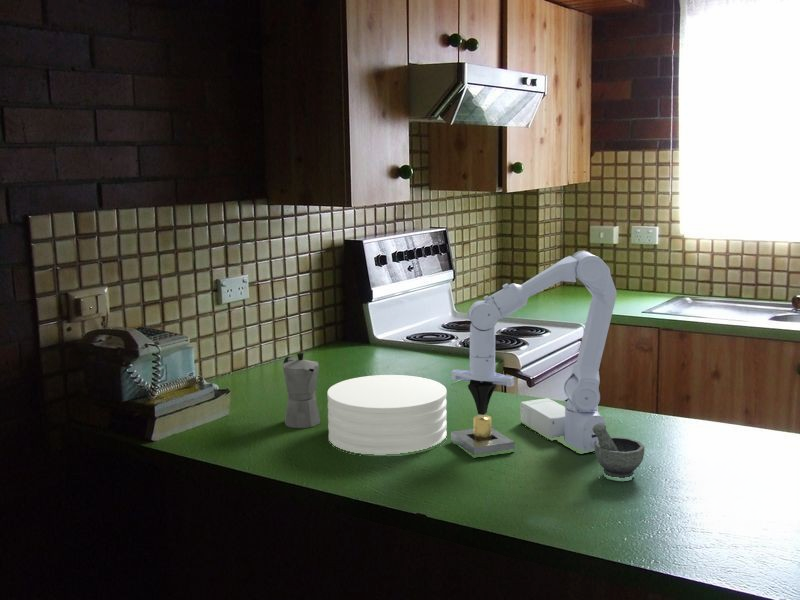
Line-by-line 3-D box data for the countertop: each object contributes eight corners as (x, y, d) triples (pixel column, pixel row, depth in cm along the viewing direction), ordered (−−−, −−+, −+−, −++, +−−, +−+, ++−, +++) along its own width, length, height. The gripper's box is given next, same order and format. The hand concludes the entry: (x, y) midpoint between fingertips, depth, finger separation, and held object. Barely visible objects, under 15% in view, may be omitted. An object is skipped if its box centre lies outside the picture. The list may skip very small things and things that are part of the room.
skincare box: (519, 423, 214) (548, 443, 200) (519, 399, 213) (548, 418, 199) (549, 419, 216) (580, 439, 203) (550, 396, 215) (581, 414, 201)
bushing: (494, 447, 197) (494, 418, 196) (481, 451, 195) (481, 421, 193) (483, 442, 200) (483, 413, 199) (469, 446, 198) (469, 417, 197)
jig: (514, 452, 194) (514, 441, 193) (474, 458, 190) (474, 448, 189) (489, 436, 205) (489, 426, 204) (450, 442, 201) (450, 431, 200)
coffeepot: (332, 426, 213) (330, 355, 210) (297, 433, 208) (295, 360, 205) (303, 410, 226) (301, 343, 223) (270, 417, 221) (267, 348, 218)
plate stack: (457, 423, 215) (457, 378, 213) (431, 462, 189) (431, 412, 187) (350, 415, 223) (349, 371, 221) (311, 452, 196) (309, 403, 194)
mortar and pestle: (625, 465, 185) (627, 411, 183) (652, 481, 176) (654, 424, 174) (579, 472, 181) (581, 417, 179) (605, 489, 172) (606, 431, 170)
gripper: (519, 354, 193) (519, 412, 196) (460, 347, 200) (460, 404, 203) (507, 361, 187) (507, 421, 190) (447, 354, 194) (447, 412, 197)
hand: (482, 413), depth 196 cm, fingers closed
